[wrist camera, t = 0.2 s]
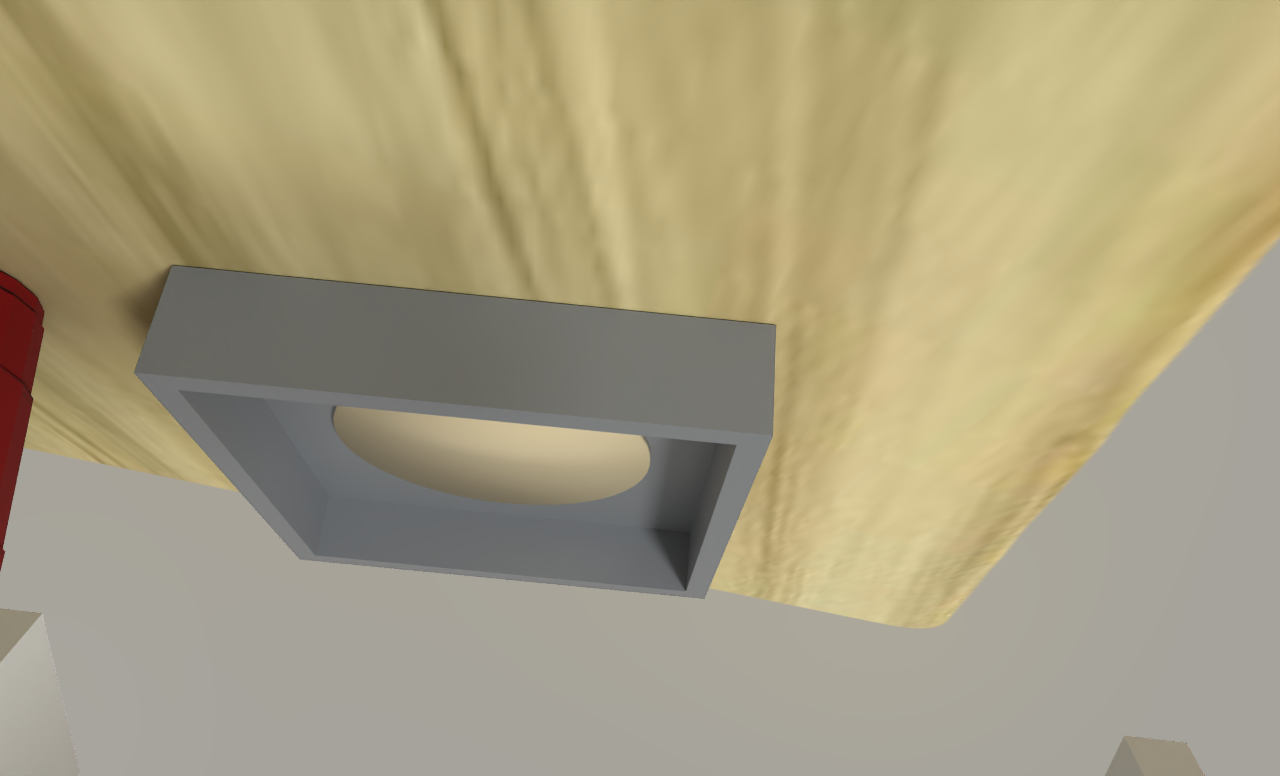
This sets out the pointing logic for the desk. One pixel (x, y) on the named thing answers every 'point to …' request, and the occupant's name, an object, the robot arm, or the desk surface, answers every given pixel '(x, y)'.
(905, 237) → the desk surface
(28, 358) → the plastic cup
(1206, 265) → the desk surface
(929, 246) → the desk surface
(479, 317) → the grey square tray
